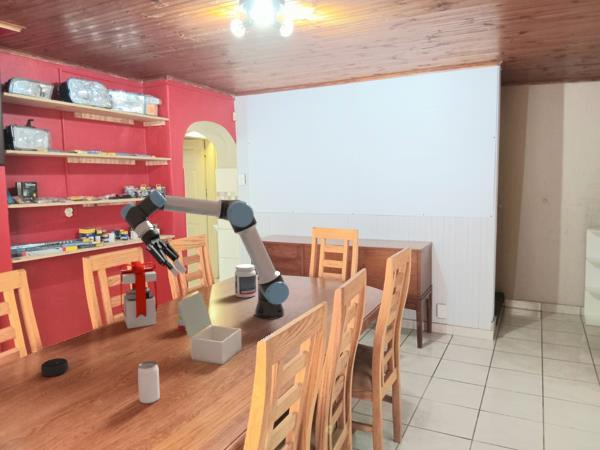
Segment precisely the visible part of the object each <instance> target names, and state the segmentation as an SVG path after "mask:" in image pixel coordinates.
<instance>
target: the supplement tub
mask: <svg viewBox="0 0 600 450" xmlns="http://www.w3.org/2000/svg"><path fill="white" fill-rule="evenodd" d="M234 292H235V293H234V294H235V296H236V297H238V298H247V299H248V298H251V297H255V296H256V294H257V271H256V269H255V267H254V265H253V263H252V264H249V263H242V264H241V263H240V264H237V265H235V271H234Z"/></svg>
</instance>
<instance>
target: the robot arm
mask: <svg viewBox="0 0 600 450" xmlns="http://www.w3.org/2000/svg"><path fill="white" fill-rule="evenodd" d="M157 211H164V212H173V213H181V214H182V213H183V214H192V215H199V216H200V215H201V216H209V217H216V218H217V219H218V220H223V221H224V220H225V221H228V222H229V224H230V226H231V228H232V231H233V232H234V233H235V234H237V235H239V237H240V239H241V242H242V243H243V245H244V247H245V250H246V252H247V254H248V256H249V258H250V261H251V263H252V265H254V268H255V269H254V270H255V272H256V274H257V297H258V298H257V304H256V305H255V306H256V307H255V310H254V315H255V317H256V318H258V319H262V320H263V319H264V320H270V319H271V320H274V319H279V318H281V317H283V316H284V314H285V313H284V312H285V311H284V310H285V309H284V306H283V303H284V302H286V301H287V300H288V298H289V295H290V288H289V286H288V285H287V283H285V281H284V278H283V276H282V274H281V272H280V271H278V270H276V268H275V265H274V264H273V262H272V259H271V257H270V255H269V253H268V252H267V251H268V250H267V249H266V247H265V244H264V242H263V240H262V237H261V236H260V234H259V231H258V229H257V228H256V226H257V224H258V222H257V220H256V218H255V214H254V210H253V208H252V207H251V205H250V203H248V202H246V201H244V200H240V199H219V200H211V199H210V200H208V199H202V198H201V199H200V198H193V197H185V196H176V195H170V194H169V195H167V194H162V193H161V192H160V191H159V190H158V189H155V190H153V191H151V192H150V193H148V194H147V195H146V196H145V197H144V198H142V200H141V201H139V202H138V203H137V204H134V203H128V204H127V205H125V206H123V208H122V209H121V211H120V215H121V217H122V218H123V219H124V221H125V223H126V224H127V225H128V226H129V227H130V228H131V229H132V231H133V232H134V233H135V234H136V235H137V236H138V237H139V239H141V241H142V243H143V244H144V245H145V246H146V248H145V250H146V251H147V252H148V253H149V254H150V255H151V256H152V257H153V258H154V259H155V261H156V262H157V263H158V264H159V265H160V266H162V267H166V268H167V269H168V271H170V272H171V273H172V275H173V276H174V277H177V276H178V275H179V274H181V275H183V274H184V273H186V271H187V268H186V267H185V266H184V264H183V263H182V262H181V261H180V260H179V258H180V255H179V253H178V252H177V251H176V250H175V249H174V248H173V246H172V245H171V244H170V242H169V241H168V240H165V241H164V240H163V239H161V238H160V237H161V234H160V232H158V230H157V229H156V228H155V227H154V225H152V223H151V222H150V221H149V220H148V218H149V217H150V216H151V215H153V214H155V213H156V212H157ZM167 257H168V258H169V259H170V260H168V258H167Z"/></svg>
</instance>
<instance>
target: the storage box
mask: <svg viewBox="0 0 600 450" xmlns="http://www.w3.org/2000/svg"><path fill="white" fill-rule="evenodd" d="M190 343H191V344H190V345H191V346H190V351H191V360H192V361H197V362H203V363H208V364H209V363H210V364H216V365H225V364H226V363H227V362H229V360H231V359H232V358H233V357H234V356H235V355H237V354H238V353H239V352H240V351H241V349H242V329H241V328H238V327H237V328H235V327H229V326H222V325H221V326H220V325H214V324H211V325H210V326H208V327H207V328H205V329H203V330H202V331H200V332H198V333H197V334H195V335H193V336H192V337H190ZM231 357H232V358H231ZM225 362H226V363H225Z"/></svg>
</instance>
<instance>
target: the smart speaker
mask: <svg viewBox="0 0 600 450" xmlns="http://www.w3.org/2000/svg"><path fill="white" fill-rule="evenodd" d="M40 370H41V371H40V372H41V375H43V376H44V377H56V376H60V375H63V374H64V373H66V372H67V371H68V370H69V361H68V360H67V359H66V358H61V357H59V358H58V357H57V358H56V357H55V358H52V359H48V360H46V361H44V362H42V364H41V366H40Z"/></svg>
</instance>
